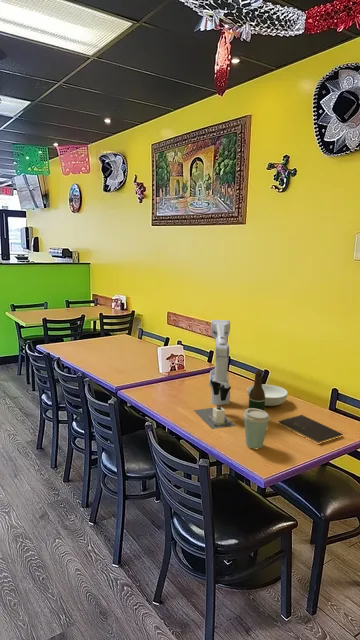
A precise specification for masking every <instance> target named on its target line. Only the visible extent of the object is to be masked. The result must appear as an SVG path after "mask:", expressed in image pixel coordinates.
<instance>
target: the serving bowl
mask: <svg viewBox="0 0 360 640" xmlns="http://www.w3.org/2000/svg"><path fill="white" fill-rule="evenodd" d="M253 386H254V384H253V385H250V386H248V387H247V388H246V393H247V396H248V398H249V394H250V391H251V389H252V388H253ZM262 389H263V390H264V393H265V407H275V406H278V405H281V404H283V403H284V402H285V401H286V399H287V397H288V394H289V392H288V390H286V389H285V388H283V387H281V386H278V385H274V384H267V383H266V384H263V383H262Z"/></svg>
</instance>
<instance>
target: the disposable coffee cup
mask: <svg viewBox="0 0 360 640" xmlns="http://www.w3.org/2000/svg"><path fill="white" fill-rule="evenodd" d="M242 416H243V420H244V433H245V444H246V447H248V448H249V447H251V448H260V449H262V448H263V446H264V442H265V438H266V433H267V431H268V430H267V429H268V425H269V421H270V415H269V413H268V412H267V411H265V410H264V411H263V410H260V409H255V408H249V409H248V408H246V409H245V411H244V412H243V415H242ZM261 447H262V448H261ZM251 448H250V449H251Z"/></svg>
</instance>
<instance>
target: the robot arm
mask: <svg viewBox="0 0 360 640" xmlns="http://www.w3.org/2000/svg"><path fill="white" fill-rule="evenodd" d="M230 331H231V320H229V319H228V320H226V319H211V322H210V335H211V337H212V338H213V339H214V341H215V347H214V368H213V369H212V370H210V372H209V376H208V386H209V387H210V404H212V405H215V406H223V405H227V404H228V405H229V404H230V402H231V390H232V387H231V386H230V383H229V379H230V378H229V372H228V362H229V356H230V345H229V344H228V343H229V342H228V338H229V336H230Z"/></svg>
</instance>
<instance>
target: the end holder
mask: <svg viewBox="0 0 360 640" xmlns="http://www.w3.org/2000/svg"><path fill="white" fill-rule="evenodd" d="M208 420H209V421H210V422H211V423H212V424H213V425H214V426H218V425H225V424H229V420H230V418H229V417H228V416H226V415H225V414H224V423H217V424H216V422H217V421H216V420H215V419H214V418H213V417H212V416H211V415H208ZM230 421H231V420H230Z"/></svg>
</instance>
